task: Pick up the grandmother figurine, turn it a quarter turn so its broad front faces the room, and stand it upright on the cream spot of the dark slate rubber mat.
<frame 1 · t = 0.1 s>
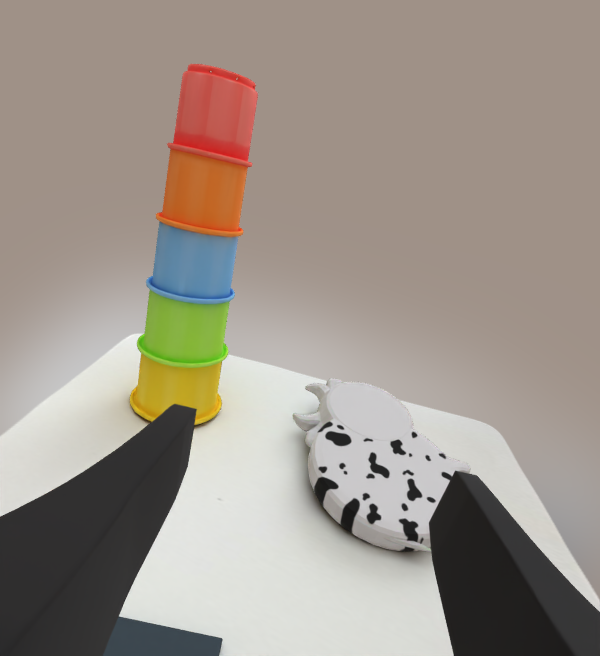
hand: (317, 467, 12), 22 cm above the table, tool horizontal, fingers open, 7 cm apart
toy: (370, 470, 48), on the table
stacking cups: (176, 404, 51), on the table
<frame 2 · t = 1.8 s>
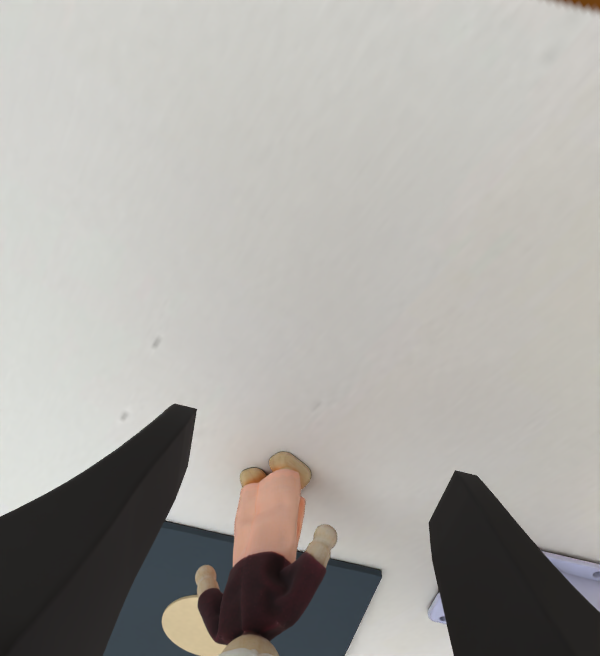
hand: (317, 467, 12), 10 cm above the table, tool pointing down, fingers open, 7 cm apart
grandmother figurine: (281, 472, 26), on the table
display mat: (212, 619, 32), on the table
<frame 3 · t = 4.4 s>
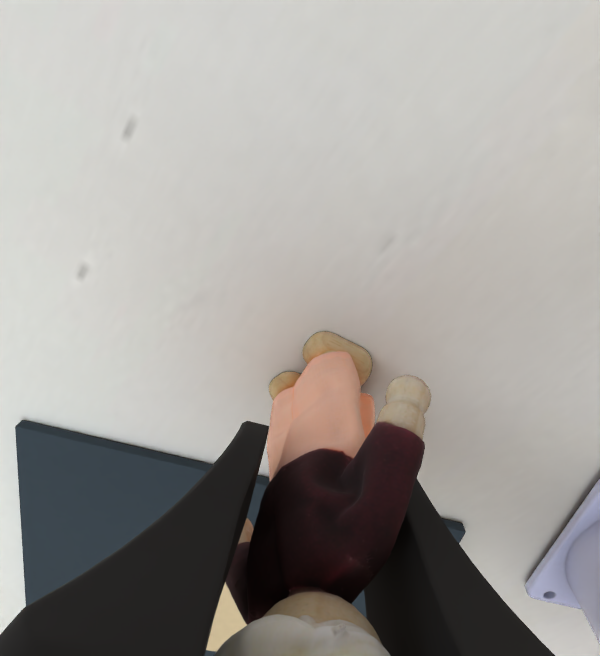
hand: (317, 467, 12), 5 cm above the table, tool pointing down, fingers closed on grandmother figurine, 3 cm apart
grandmother figurine: (327, 369, 17), on the table, touching gripper
display mat: (216, 597, 23), on the table
when the fingers open (6 cm above the table, at t = 9.8 s): grandmother figurine stays where it is, resting on display mat.
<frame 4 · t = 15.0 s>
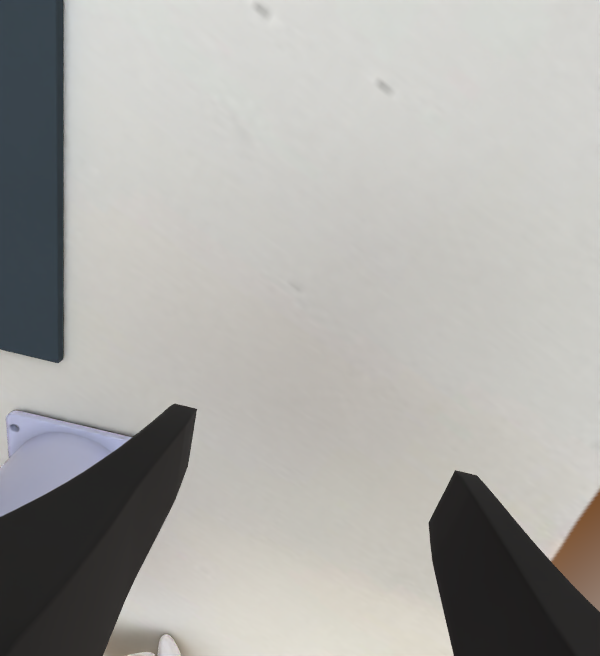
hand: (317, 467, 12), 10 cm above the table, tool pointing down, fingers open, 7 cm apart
white lumpy figurine: (127, 642, 34), on the table
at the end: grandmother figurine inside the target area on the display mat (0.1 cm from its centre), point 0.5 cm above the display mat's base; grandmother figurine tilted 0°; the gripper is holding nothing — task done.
